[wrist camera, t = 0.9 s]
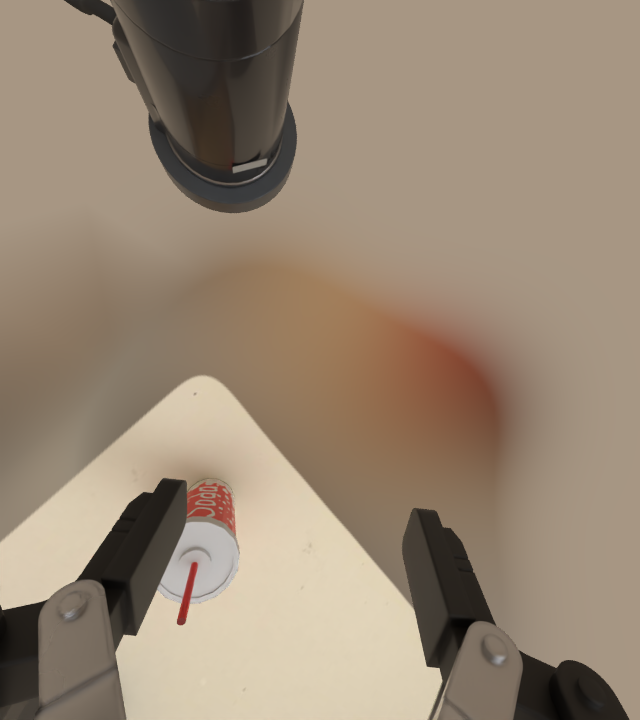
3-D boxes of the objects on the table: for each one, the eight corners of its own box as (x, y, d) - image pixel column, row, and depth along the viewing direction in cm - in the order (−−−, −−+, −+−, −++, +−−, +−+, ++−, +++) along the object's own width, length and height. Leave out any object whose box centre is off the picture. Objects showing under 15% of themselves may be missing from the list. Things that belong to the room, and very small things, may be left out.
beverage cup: (250, 479, 34) (251, 579, 20) (231, 538, 34) (218, 678, 20) (187, 463, 33) (141, 560, 19) (167, 525, 33) (107, 665, 19)
